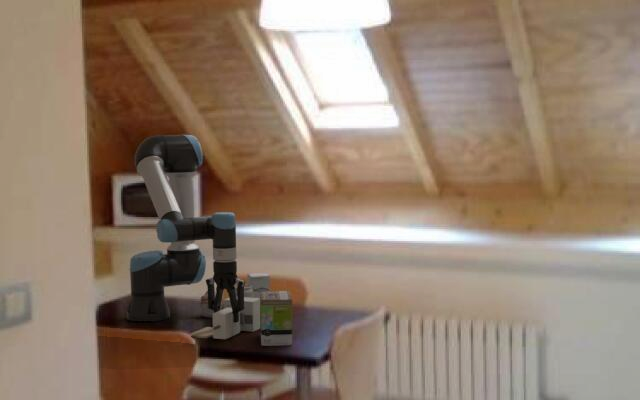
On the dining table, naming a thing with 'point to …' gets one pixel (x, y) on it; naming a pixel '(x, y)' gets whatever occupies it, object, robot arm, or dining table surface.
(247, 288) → the can
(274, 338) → the tea box
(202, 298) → the cupcake
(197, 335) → the cork mat
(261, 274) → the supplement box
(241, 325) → the socket box
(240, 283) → the robot arm
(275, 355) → the dining table surface
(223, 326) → the charger plug
